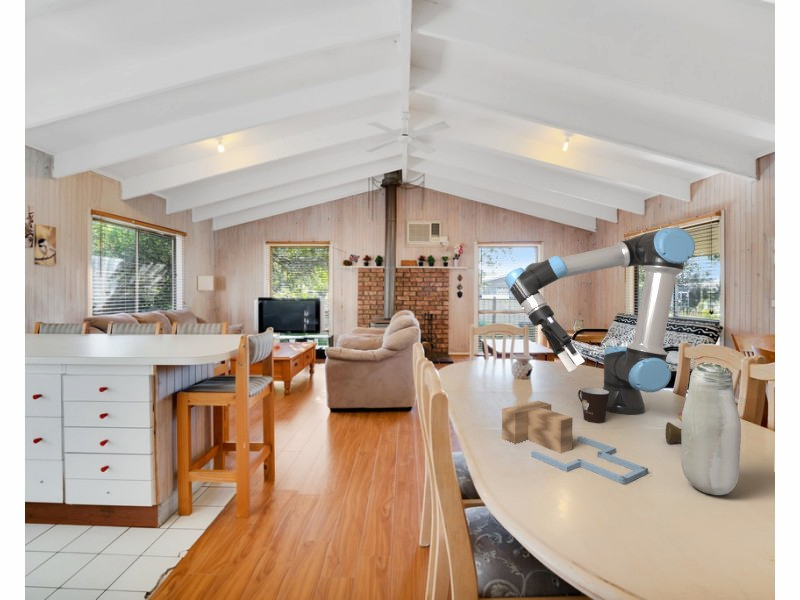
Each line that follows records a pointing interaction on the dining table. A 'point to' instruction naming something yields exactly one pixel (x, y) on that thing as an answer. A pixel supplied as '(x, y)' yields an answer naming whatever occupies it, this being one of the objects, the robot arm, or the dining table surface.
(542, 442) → the t block
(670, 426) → the kendama
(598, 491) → the dining table surface
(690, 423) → the glass bottle
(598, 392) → the coffee mug
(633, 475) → the t outline
